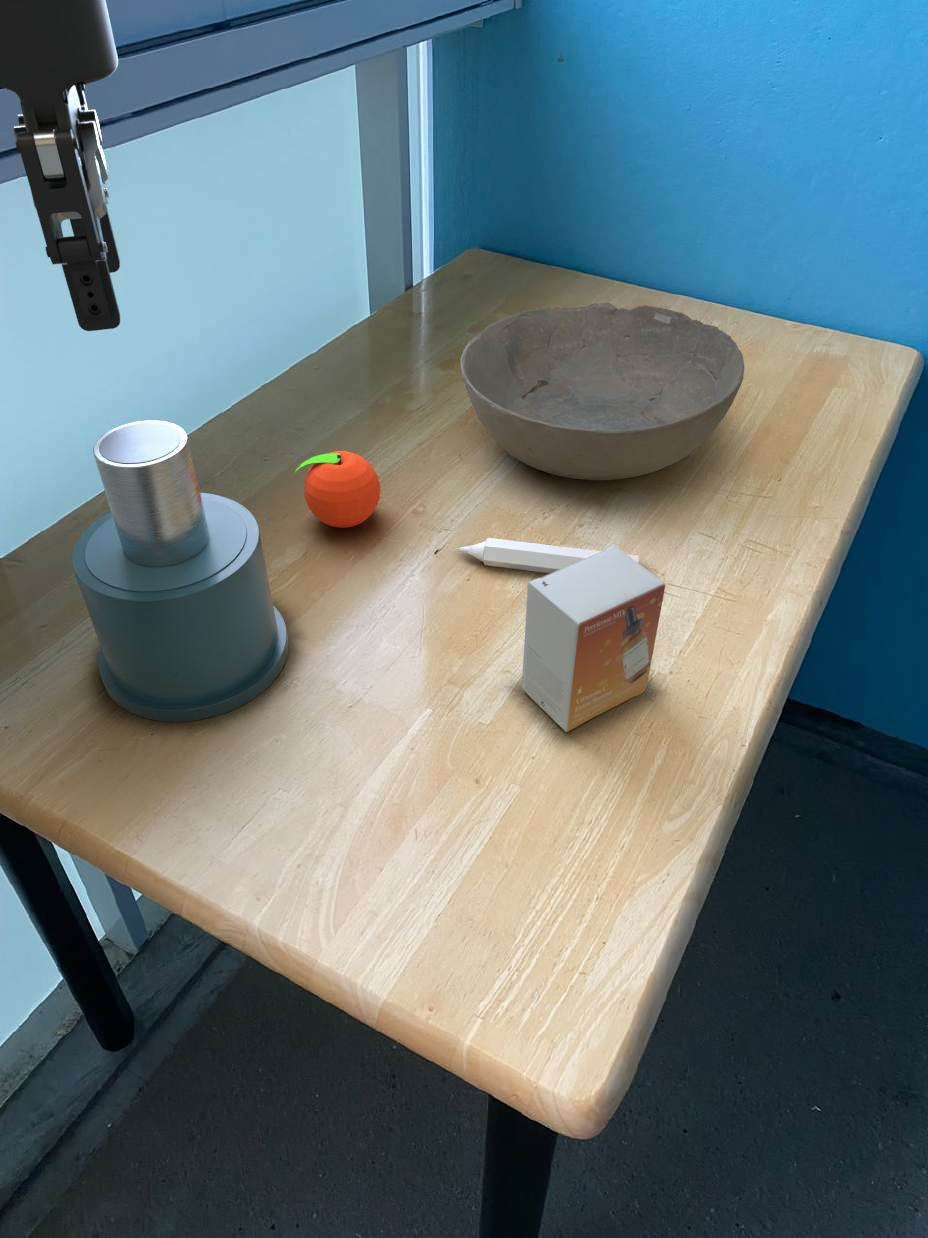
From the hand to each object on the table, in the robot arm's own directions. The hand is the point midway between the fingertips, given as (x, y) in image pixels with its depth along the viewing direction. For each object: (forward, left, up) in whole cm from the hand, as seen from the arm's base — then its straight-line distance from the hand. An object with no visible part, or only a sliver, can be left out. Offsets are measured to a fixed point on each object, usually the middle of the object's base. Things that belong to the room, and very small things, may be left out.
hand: (102, 297), depth 55 cm
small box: (+28, -12, -29) cm, 42 cm away
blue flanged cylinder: (0, 0, -29) cm, 29 cm away
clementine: (+14, +15, -29) cm, 35 cm away
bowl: (+42, +22, -29) cm, 55 cm away
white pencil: (+30, +3, -29) cm, 42 cm away
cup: (0, 0, -18) cm, 18 cm away
